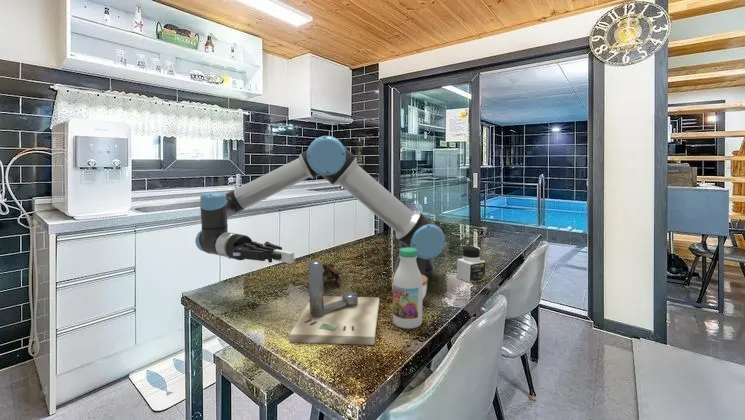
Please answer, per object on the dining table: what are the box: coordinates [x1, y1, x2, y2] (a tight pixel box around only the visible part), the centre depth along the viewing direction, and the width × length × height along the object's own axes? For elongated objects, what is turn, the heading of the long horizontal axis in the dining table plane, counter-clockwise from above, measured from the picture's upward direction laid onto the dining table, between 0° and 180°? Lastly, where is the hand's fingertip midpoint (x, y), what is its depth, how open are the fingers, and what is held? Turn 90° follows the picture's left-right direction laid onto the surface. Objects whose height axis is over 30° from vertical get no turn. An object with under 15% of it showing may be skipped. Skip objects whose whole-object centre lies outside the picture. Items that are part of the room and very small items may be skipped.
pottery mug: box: [323, 263, 342, 287], centre depth 124 cm, size 12×10×8 cm
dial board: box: [289, 295, 380, 346], centre depth 95 cm, size 20×24×2 cm
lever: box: [307, 259, 359, 317], centre depth 96 cm, size 16×4×14 cm, turn 131°
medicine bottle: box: [456, 245, 486, 284], centre depth 128 cm, size 7×7×12 cm
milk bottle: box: [392, 247, 424, 330], centre depth 93 cm, size 8×8×20 cm
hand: (292, 258), depth 95 cm, fingers closed
